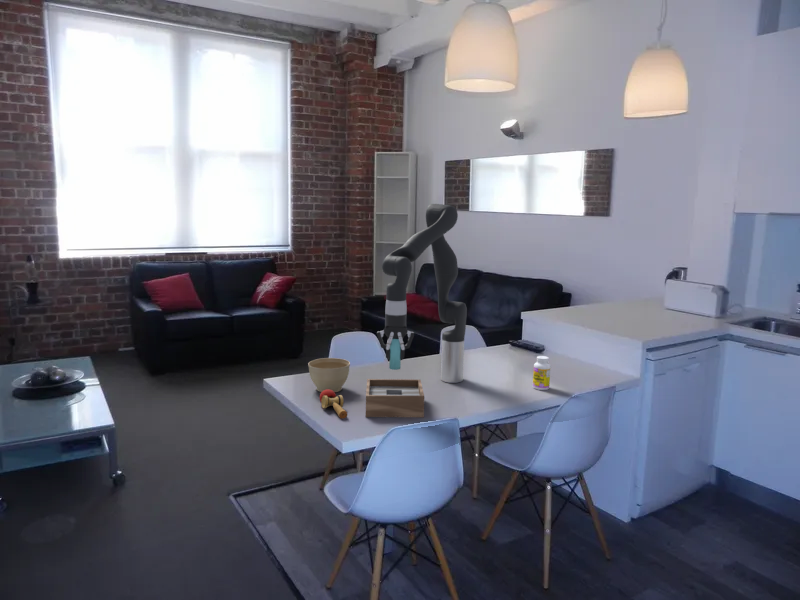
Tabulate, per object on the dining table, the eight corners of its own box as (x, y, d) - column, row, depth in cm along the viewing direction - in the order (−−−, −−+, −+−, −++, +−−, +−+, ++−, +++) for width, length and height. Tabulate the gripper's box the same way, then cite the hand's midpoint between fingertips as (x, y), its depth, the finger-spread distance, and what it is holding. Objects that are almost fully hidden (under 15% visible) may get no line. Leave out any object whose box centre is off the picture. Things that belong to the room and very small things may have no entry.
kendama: (355, 420, 206) (336, 398, 221) (353, 404, 204) (334, 383, 219) (334, 427, 203) (316, 404, 218) (332, 411, 200) (314, 389, 215)
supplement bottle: (529, 387, 242) (530, 356, 240) (538, 384, 247) (540, 354, 245) (543, 391, 237) (545, 360, 235) (552, 388, 242) (554, 357, 240)
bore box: (366, 398, 225) (367, 378, 224) (420, 398, 225) (420, 379, 224) (365, 416, 205) (365, 395, 204) (423, 417, 206) (424, 396, 205)
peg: (389, 366, 217) (389, 337, 215) (400, 366, 217) (400, 337, 215) (389, 369, 213) (390, 339, 211) (400, 369, 213) (401, 339, 211)
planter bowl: (329, 381, 245) (330, 355, 244) (358, 389, 235) (358, 362, 233) (299, 390, 233) (299, 362, 231) (328, 399, 223) (328, 370, 221)
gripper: (415, 311, 216) (414, 357, 218) (375, 310, 215) (375, 356, 218) (416, 314, 208) (415, 362, 211) (375, 314, 208) (375, 362, 211)
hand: (395, 359), depth 215 cm, fingers closed on peg, 4 cm apart
